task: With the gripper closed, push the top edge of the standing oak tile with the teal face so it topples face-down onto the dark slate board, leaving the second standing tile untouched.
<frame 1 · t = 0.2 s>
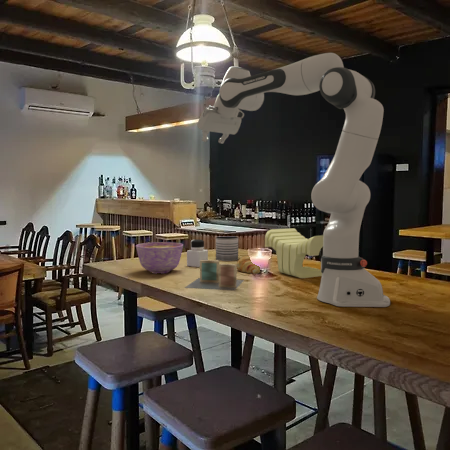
hand: (212, 142, 183), 54 cm above the table, tool tilted 30°, fingers open, 8 cm apart
slatted curved stool: (301, 275, 193), on the table
can: (227, 259, 234), on the table
croissant: (247, 271, 201), on the table
medicine bottle: (197, 266, 215), on the table
board: (215, 285, 170), on the table
tile a: (209, 281, 174), point 1 cm above the table, touching board
tile b: (227, 286, 165), point 1 cm above the table, touching board
purple bowl: (160, 272, 199), on the table
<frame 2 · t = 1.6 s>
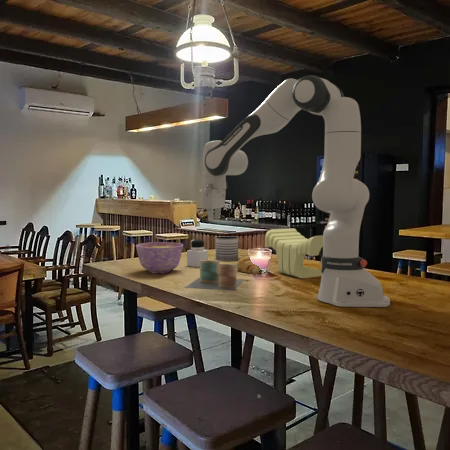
hand: (214, 220, 179), 23 cm above the table, tool pointing down, fingers open, 8 cm apart
nothing on the table moved.
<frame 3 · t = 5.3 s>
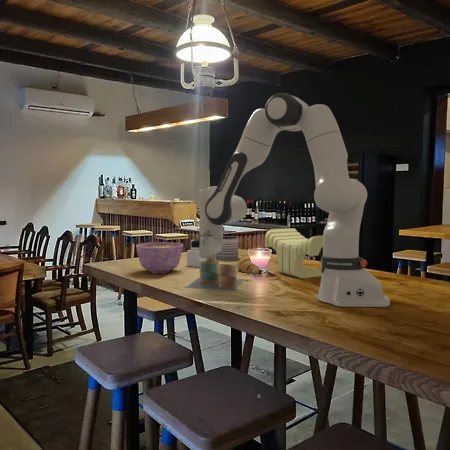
hand: (211, 266, 175), 6 cm above the table, tool pointing down, fingers closed
tile a: (209, 281, 174), point 1 cm above the table, tilted 7°, touching board
everything else where it was.
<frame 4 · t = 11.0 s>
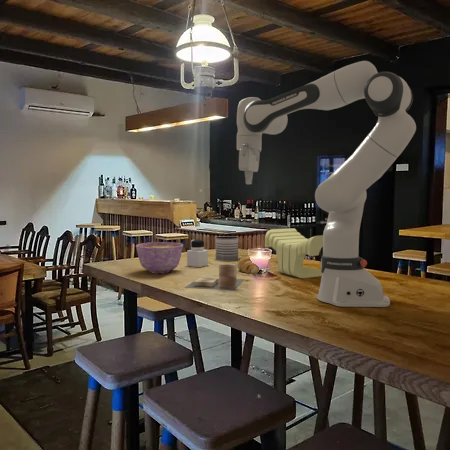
hand: (248, 184, 166), 37 cm above the table, tool pointing down, fingers closed
tile a: (209, 279, 173), point 2 cm above the table, tilted 90°, touching board
everything else where it was.
at the end: tile a tilted 90°; tile a inside the target area (3.4 cm from its centre), point 1.7 cm above the table; tile b moved 0.0 cm from its start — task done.
